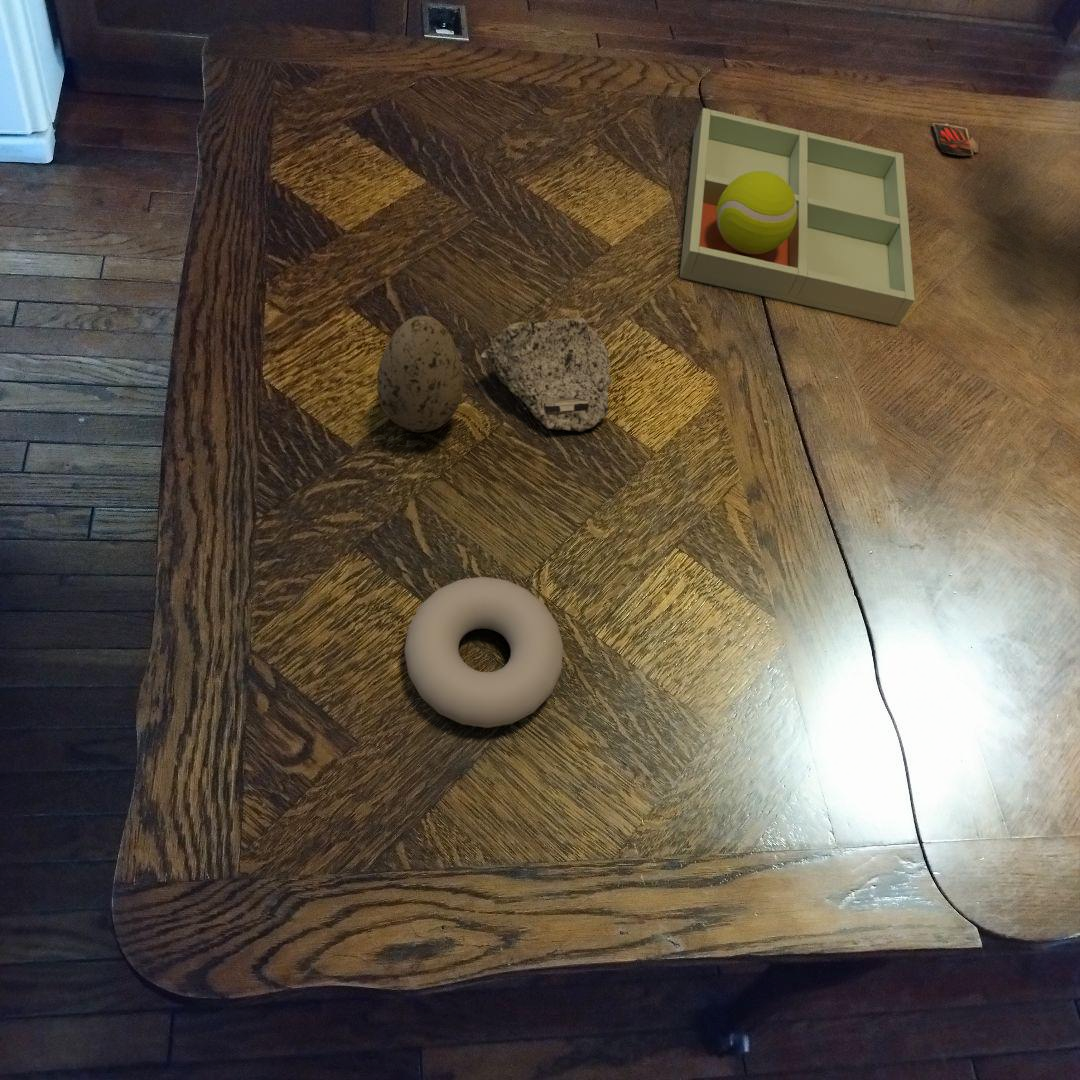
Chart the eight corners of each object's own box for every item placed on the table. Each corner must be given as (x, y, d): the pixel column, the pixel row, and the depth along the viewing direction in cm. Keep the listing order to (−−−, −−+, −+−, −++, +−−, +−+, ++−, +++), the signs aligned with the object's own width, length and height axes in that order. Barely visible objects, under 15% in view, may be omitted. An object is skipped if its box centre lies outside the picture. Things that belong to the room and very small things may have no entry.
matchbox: (944, 158, 98) (946, 154, 98) (923, 124, 100) (925, 120, 100) (984, 156, 99) (986, 152, 99) (962, 123, 102) (964, 119, 101)
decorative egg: (434, 463, 70) (443, 372, 62) (361, 428, 71) (360, 333, 62) (472, 407, 73) (486, 312, 65) (401, 374, 74) (406, 276, 66)
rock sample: (549, 440, 68) (550, 310, 67) (475, 435, 73) (475, 314, 72) (644, 434, 75) (647, 316, 74) (571, 430, 81) (572, 320, 79)
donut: (429, 575, 66) (382, 709, 60) (433, 548, 63) (383, 687, 58) (573, 617, 66) (538, 755, 60) (583, 592, 63) (547, 735, 58)
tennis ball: (795, 251, 87) (825, 189, 81) (746, 282, 84) (774, 220, 78) (740, 206, 89) (766, 143, 83) (691, 235, 86) (713, 171, 80)
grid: (888, 180, 95) (903, 153, 92) (898, 326, 85) (915, 300, 82) (693, 135, 94) (702, 107, 91) (679, 277, 84) (689, 250, 81)
